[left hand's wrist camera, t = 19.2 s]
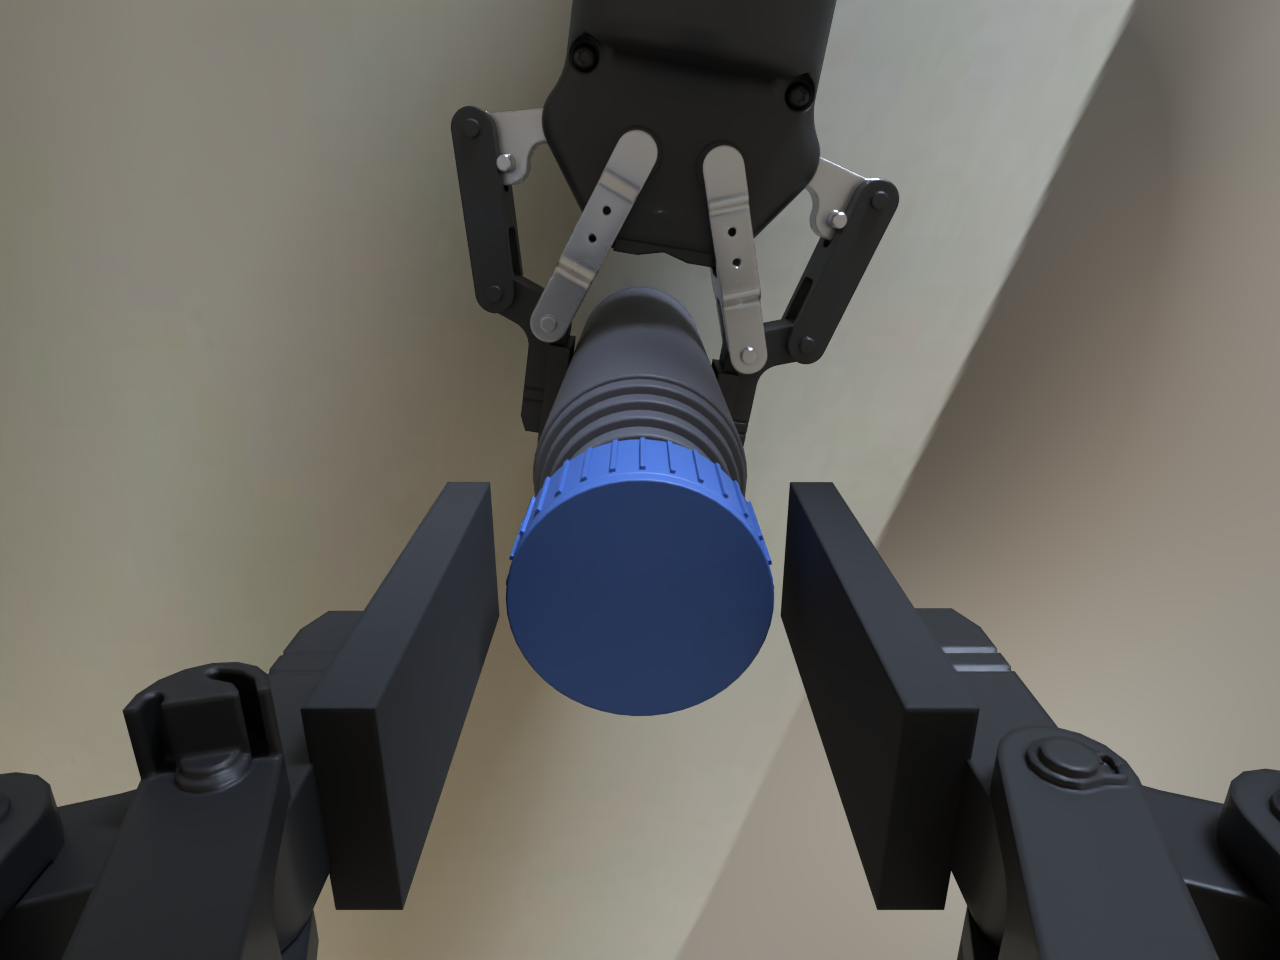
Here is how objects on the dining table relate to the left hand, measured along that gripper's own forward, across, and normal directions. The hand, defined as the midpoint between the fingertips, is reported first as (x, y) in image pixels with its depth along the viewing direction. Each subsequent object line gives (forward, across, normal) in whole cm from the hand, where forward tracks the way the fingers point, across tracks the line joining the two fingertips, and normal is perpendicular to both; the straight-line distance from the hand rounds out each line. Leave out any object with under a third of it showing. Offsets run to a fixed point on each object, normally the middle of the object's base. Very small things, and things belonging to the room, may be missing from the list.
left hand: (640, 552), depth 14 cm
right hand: (+13, 0, -3) cm, 14 cm away
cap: (-2, 0, 0) cm, 2 cm away
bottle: (+20, 0, 0) cm, 20 cm away
